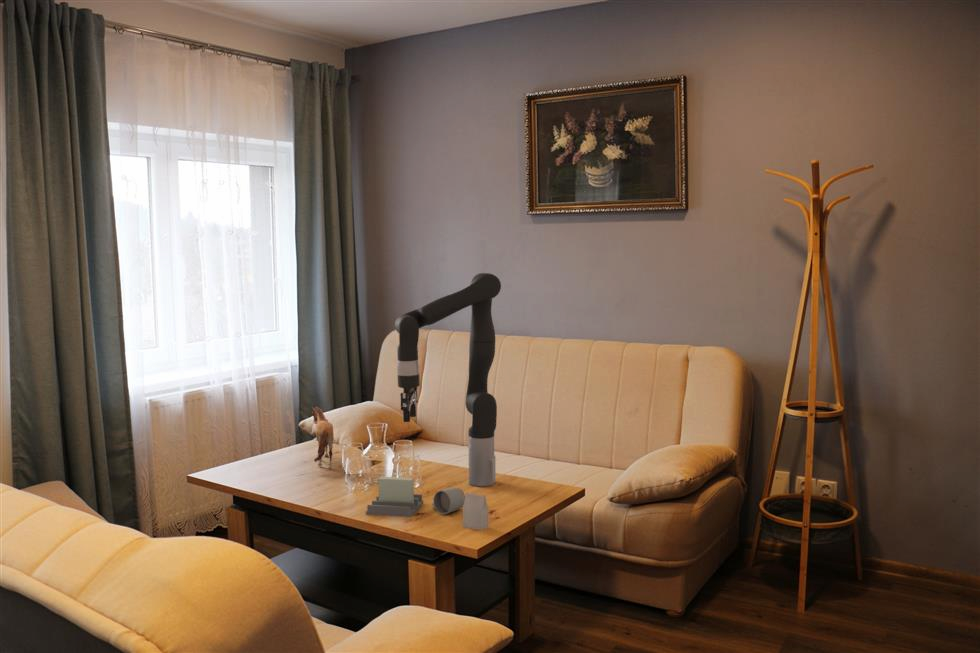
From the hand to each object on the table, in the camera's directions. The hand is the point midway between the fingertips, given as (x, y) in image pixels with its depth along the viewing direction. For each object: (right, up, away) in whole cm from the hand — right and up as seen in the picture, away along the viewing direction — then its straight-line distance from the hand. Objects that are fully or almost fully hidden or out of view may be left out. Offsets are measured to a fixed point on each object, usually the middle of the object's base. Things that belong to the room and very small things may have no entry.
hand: (409, 419), depth 287 cm
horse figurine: (-40, -22, +38) cm, 60 cm away
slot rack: (-3, -27, -19) cm, 33 cm away
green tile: (-3, -26, -19) cm, 32 cm away
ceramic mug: (+14, -27, -21) cm, 37 cm away
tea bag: (+23, -29, -37) cm, 52 cm away
